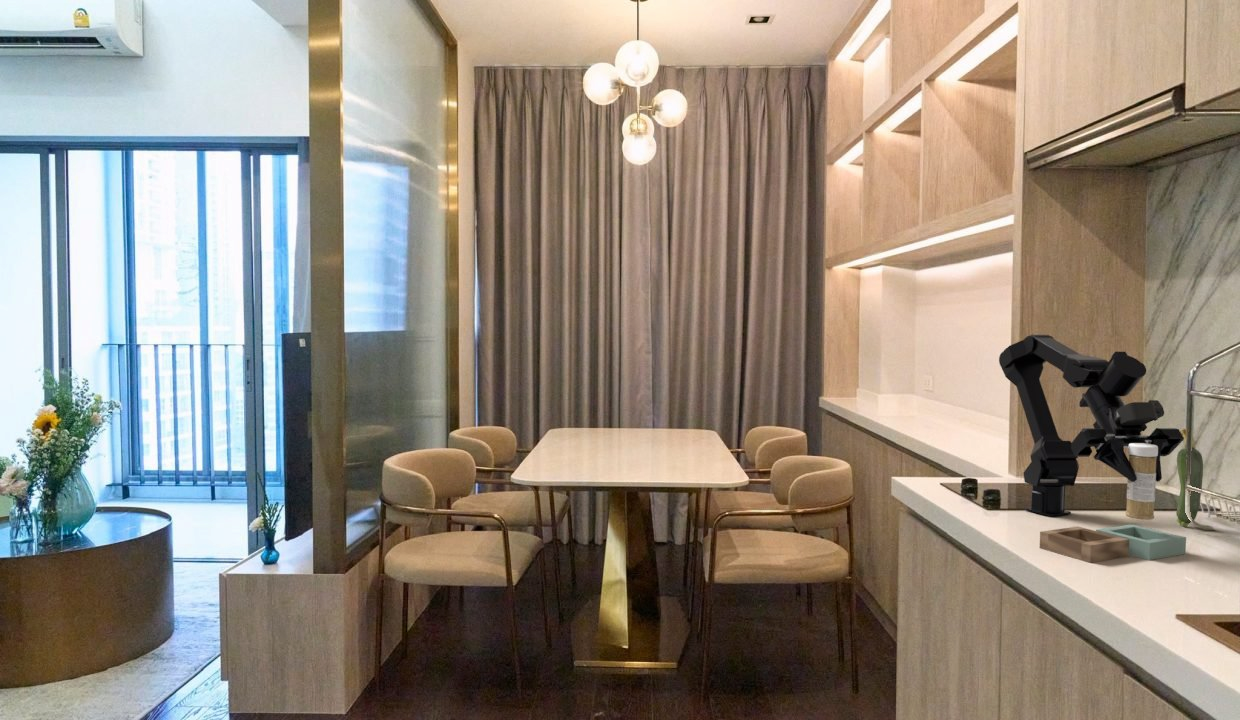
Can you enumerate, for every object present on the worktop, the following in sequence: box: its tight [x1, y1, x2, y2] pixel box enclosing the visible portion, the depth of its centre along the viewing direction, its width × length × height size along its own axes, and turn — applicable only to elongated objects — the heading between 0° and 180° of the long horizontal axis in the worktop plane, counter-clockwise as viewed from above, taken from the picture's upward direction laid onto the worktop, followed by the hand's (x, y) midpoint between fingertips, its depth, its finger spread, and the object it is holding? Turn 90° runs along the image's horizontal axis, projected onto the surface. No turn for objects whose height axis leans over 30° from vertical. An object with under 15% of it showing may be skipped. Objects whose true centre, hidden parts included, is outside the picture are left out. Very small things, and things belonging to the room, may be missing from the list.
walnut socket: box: [1039, 526, 1130, 563], centre depth 150 cm, size 10×10×3 cm
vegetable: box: [1175, 428, 1204, 528], centre depth 168 cm, size 4×4×20 cm
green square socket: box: [1095, 524, 1187, 561], centre depth 152 cm, size 10×10×3 cm
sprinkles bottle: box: [1125, 443, 1158, 521], centre depth 151 cm, size 5×5×14 cm
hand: (1147, 480), depth 150 cm, fingers closed on sprinkles bottle, 4 cm apart
